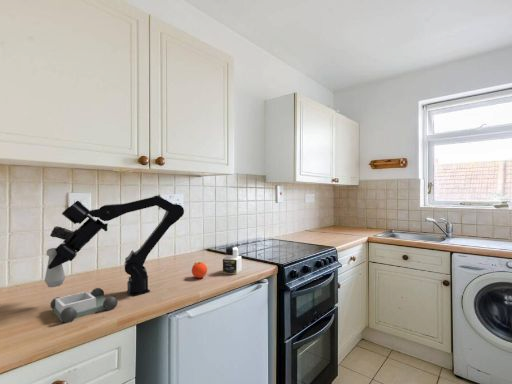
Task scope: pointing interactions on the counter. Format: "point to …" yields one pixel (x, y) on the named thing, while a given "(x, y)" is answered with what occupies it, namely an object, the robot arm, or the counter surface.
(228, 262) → the medicine bottle
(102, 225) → the robot arm
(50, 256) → the salt shaker
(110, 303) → the toy wheeled cart
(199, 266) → the clementine
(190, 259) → the counter surface
